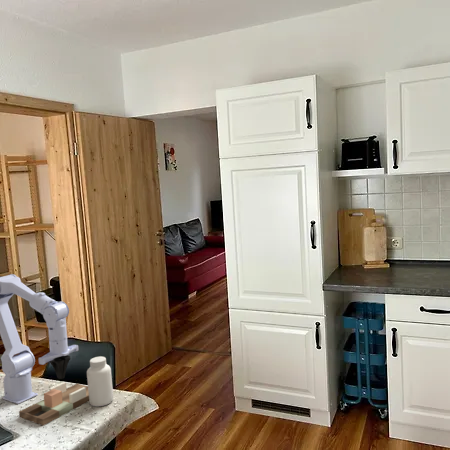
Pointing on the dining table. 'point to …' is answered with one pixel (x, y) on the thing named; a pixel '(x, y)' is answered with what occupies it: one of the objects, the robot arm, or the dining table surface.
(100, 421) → the dining table surface
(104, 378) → the pill bottle
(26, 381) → the robot arm
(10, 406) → the dining table surface
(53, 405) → the block
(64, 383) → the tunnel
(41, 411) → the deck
